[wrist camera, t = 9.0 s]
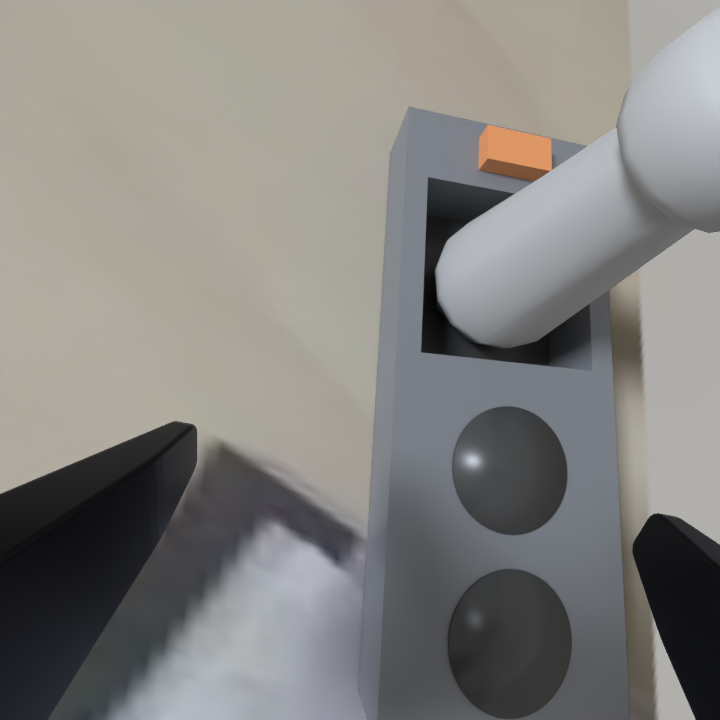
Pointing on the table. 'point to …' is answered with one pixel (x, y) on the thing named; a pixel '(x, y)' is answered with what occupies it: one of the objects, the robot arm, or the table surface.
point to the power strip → (487, 471)
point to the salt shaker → (595, 206)
